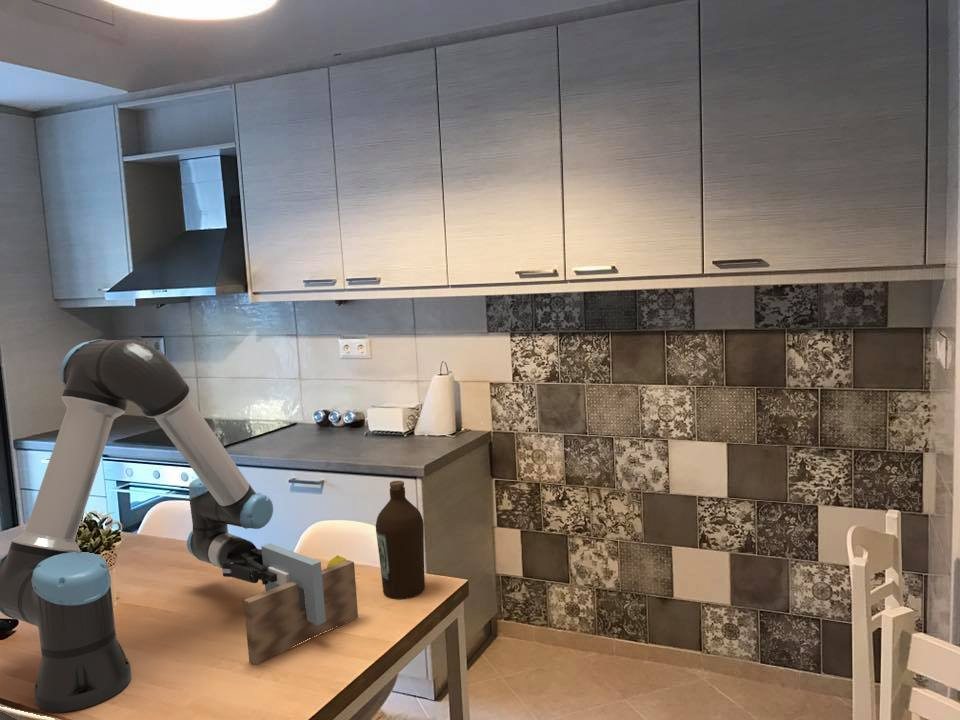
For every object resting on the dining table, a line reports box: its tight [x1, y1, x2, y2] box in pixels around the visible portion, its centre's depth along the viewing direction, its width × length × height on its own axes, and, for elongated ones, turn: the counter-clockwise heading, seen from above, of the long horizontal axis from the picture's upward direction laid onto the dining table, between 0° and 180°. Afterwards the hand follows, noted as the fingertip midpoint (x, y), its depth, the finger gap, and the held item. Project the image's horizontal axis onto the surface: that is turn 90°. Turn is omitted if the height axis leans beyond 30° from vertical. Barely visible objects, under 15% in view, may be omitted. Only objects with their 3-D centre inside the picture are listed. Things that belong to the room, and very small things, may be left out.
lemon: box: [326, 555, 348, 568], centre depth 169 cm, size 6×6×8 cm
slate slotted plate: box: [260, 543, 326, 625], centre depth 148 cm, size 18×2×12 cm, turn 47°
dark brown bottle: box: [375, 480, 426, 600], centre depth 166 cm, size 11×11×25 cm
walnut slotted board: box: [243, 559, 359, 666], centre depth 146 cm, size 24×2×12 cm, turn 137°
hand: (293, 578), depth 148 cm, fingers closed on slate slotted plate, 2 cm apart
